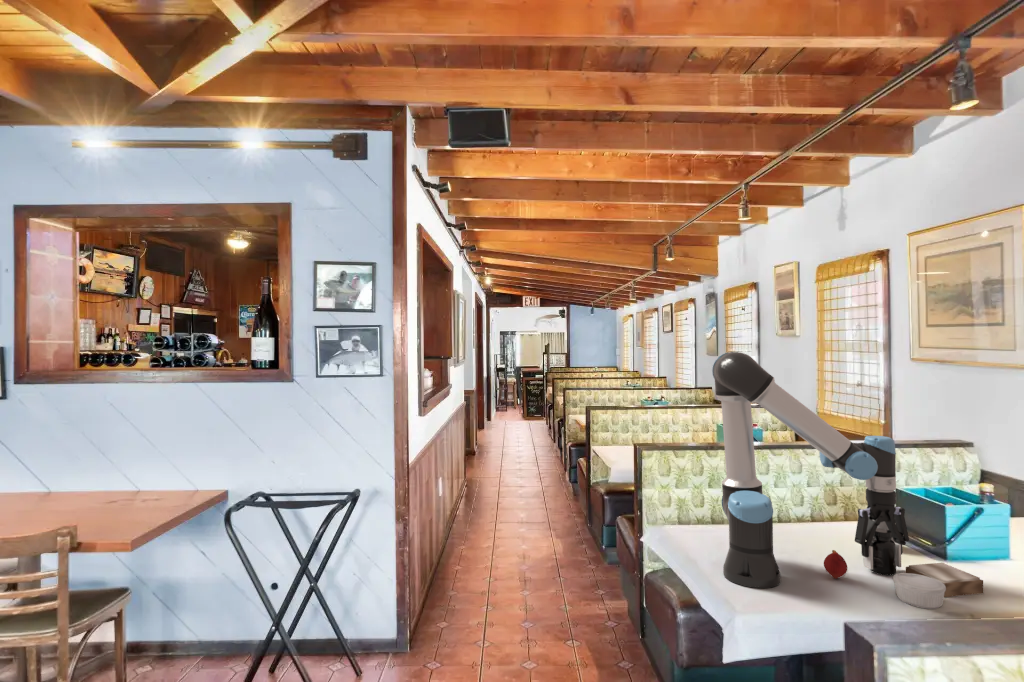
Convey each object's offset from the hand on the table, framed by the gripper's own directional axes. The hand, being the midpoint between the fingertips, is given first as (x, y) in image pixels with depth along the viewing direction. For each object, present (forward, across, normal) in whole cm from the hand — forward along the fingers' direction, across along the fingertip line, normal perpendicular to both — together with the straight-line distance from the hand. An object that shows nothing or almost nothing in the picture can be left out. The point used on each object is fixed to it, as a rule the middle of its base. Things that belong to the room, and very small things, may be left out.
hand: (882, 566), depth 166 cm
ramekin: (+2, -6, -19) cm, 20 cm away
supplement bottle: (+2, 0, 0) cm, 2 cm away
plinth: (+1, +8, -12) cm, 14 cm away
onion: (+2, -17, -2) cm, 17 cm away
